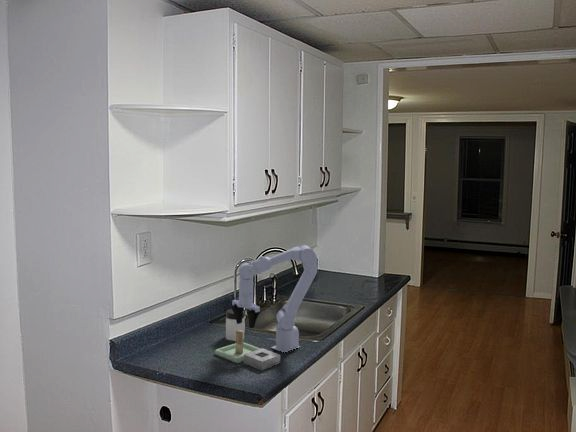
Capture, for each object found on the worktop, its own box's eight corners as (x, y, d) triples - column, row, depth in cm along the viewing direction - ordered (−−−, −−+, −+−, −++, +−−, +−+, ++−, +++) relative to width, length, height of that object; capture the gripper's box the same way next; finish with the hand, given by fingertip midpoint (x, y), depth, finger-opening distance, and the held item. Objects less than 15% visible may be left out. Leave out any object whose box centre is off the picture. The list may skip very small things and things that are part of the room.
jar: (244, 341, 241) (244, 314, 239) (225, 341, 240) (225, 314, 239) (244, 334, 250) (245, 308, 248) (226, 334, 249) (226, 308, 248)
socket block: (262, 356, 224) (262, 348, 223) (280, 363, 217) (280, 354, 216) (243, 363, 216) (243, 354, 216) (261, 370, 210) (261, 361, 209)
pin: (239, 351, 227) (239, 329, 226) (244, 353, 225) (244, 331, 224) (233, 352, 225) (234, 331, 224) (238, 354, 223) (239, 332, 222)
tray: (241, 346, 235) (241, 341, 235) (263, 354, 226) (263, 349, 226) (215, 354, 225) (215, 349, 224) (237, 363, 216) (237, 358, 216)
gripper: (226, 291, 229) (226, 323, 231) (251, 298, 220) (250, 331, 221) (239, 288, 235) (239, 319, 236) (264, 295, 225) (263, 328, 226)
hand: (245, 325), depth 229 cm, fingers open, 7 cm apart
